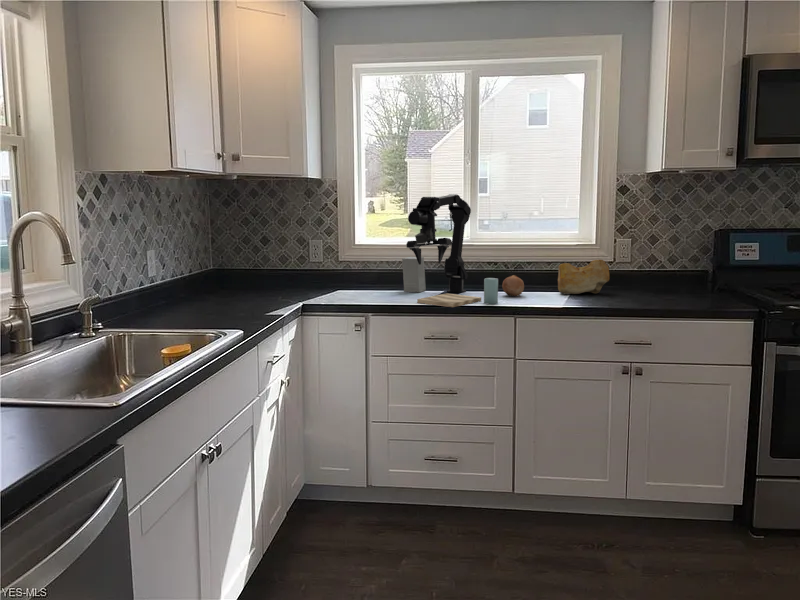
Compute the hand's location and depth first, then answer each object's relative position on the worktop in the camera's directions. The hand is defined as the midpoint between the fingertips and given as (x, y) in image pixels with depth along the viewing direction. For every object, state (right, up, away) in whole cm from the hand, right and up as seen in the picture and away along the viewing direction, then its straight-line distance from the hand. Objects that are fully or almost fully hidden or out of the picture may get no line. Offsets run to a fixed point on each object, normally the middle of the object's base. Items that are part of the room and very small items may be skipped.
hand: (429, 263), depth 280 cm
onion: (+37, -14, +11) cm, 41 cm away
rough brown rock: (+68, -12, +19) cm, 72 cm away
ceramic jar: (+25, -17, -7) cm, 31 cm away
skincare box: (-6, -12, +26) cm, 29 cm away
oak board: (+8, -16, -4) cm, 18 cm away
